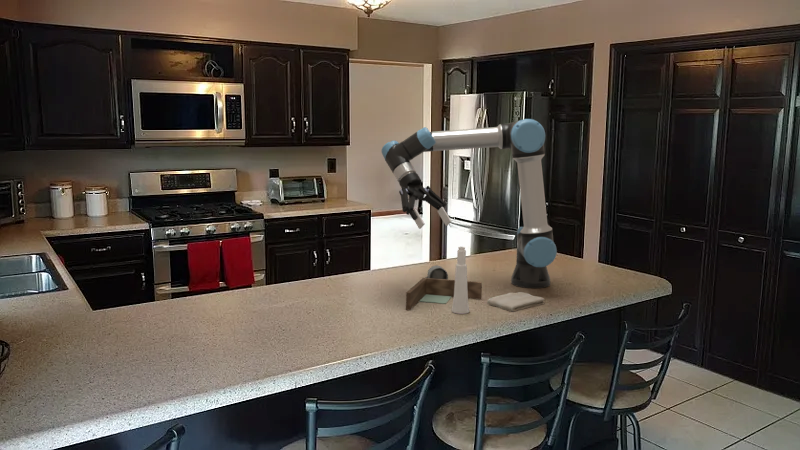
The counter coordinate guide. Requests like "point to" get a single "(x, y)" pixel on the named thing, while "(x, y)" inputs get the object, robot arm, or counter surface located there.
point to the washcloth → (515, 301)
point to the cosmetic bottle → (460, 284)
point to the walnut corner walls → (439, 290)
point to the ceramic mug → (437, 273)
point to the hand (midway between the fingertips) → (435, 225)
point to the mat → (435, 299)
